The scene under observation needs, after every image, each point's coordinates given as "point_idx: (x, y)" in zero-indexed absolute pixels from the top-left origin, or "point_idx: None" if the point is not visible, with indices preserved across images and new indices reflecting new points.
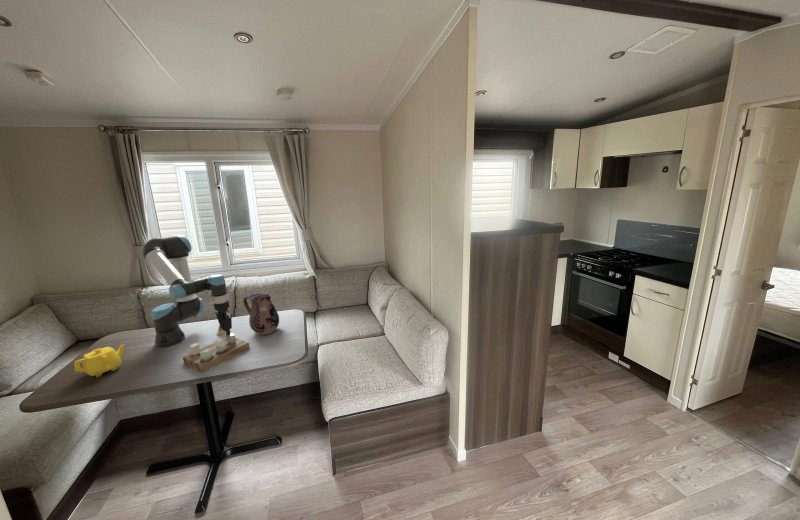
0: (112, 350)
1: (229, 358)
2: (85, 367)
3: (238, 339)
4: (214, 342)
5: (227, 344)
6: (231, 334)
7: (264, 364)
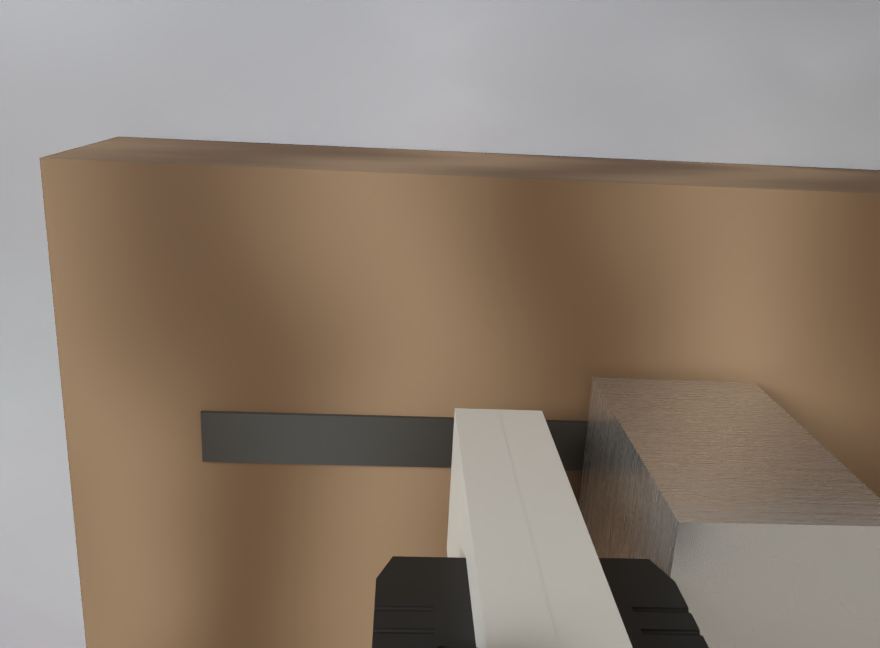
0: None
1: None
2: None
3: (627, 214)
4: (92, 619)
5: None
6: (764, 584)
7: None
